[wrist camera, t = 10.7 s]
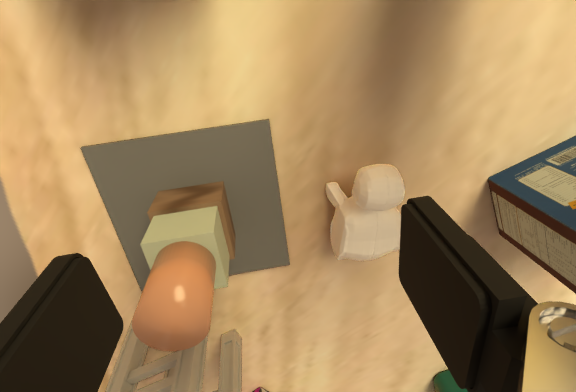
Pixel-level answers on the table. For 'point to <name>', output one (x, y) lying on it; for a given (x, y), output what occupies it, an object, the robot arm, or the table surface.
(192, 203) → the tower base
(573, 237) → the protein box
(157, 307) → the peach egg shape
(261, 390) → the candy bar box
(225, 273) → the tower top
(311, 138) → the table surface
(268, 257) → the rubber mat
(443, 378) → the pitcher
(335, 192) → the cream shape with stub
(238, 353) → the stool
